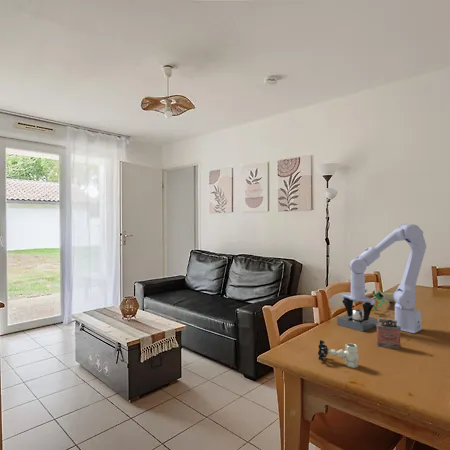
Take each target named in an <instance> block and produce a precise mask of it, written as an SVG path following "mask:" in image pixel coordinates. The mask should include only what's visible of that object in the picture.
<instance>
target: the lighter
mask: <svg viewBox="0 0 450 450" xmlns="http://www.w3.org/2000/svg"><path fill="white" fill-rule="evenodd" d="M377 319H378V324H376V341H375V342H376V346H377V347H381V348H386V349H387V348H388V349H401V348H402V345H401V330H400V329H401V327H400V326H397V320H395V319H392V318H391V317H390V318H377Z"/></svg>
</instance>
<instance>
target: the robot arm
mask: <svg viewBox="0 0 450 450" xmlns="http://www.w3.org/2000/svg"><path fill="white" fill-rule="evenodd" d="M400 241H406V243H407V244H408V245H409V247H410V251H409V255H408V258H407V261H406V266H405V267H404V272H403V275H402V277H401V278H402V279H401V282H400V284H398V286H397V288H396V290H395V291H394V292H393V299H394V300H395V301H394V302H395V303H394V320H397V326H400V327H401V329H400V331H401V332H403V331H404V332H406V333H410V334H416V333H418V332H420V331H422V330H423V328H422V327H423V326H422V324H423V323H422V312H421V310H419V309H416V308H415V306H416V305H417V299H416V296H417V291H416V285H417V281H418V277H419V273H420V270H421V267H422V264H423V260H424V256H425V253H426V249H427V244H426V241H425V238H424V231H423V230H422V229H421V228H420V226H419V225H417V224H413V223H412V224H408V223H403V224H401V225H400V226H399V227H397V228H395V229H393V230H392V231H391V232H390V233H388V235H386V236H385V238H383V239H382V240H381V241H380V242H378V244H376V245H375V246H370V247H369V246H368V247H365V248H364V251H363V252H362V253H360V254H359V255H356V256H355V258H353V259H351V261H350V262H349V264H348V267H349V269H350V294H349V293H348V294H347V293H341V299H342V304H343V306H344V307H345V310H346V313H347V314H348V316H349V317H350V316H352V309H353V305H354V302H353V301H358V302H357V303H363V304H362V310H363V316H364V320H365V321H366V320H368V319H369V317H370V316H371V313H372V309H374V307H373V306H375V305H376V299H374V298H371V297H369V298H367V297H366V293H365V290H366V288H365V287H366V283H365V282H366V281H365V280H366V277H365V272H366V270H367V267H369V266H371V265H372V264H373V263H374V262H375V261H377V260H378V259H379V258H380V256H381V253H382V252H383V251H385V250H386V249H387V248H389V247H390V246H392V245H393V244H394V243H396V242H400ZM347 314H346V315H347Z"/></svg>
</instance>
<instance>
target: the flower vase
mask: <svg viewBox="0 0 450 450" xmlns="http://www.w3.org/2000/svg"><path fill="white" fill-rule="evenodd" d="M366 292H368V289H365V294H366ZM393 294H394V292H393V293H391V292H390V293H389V292H388V293H387V292H386V293H385V292H383V291H381V290H380V289H379V290H377V291H375V290H373V291H372V296H368V295H365V297H367V298H371V299H375V301H377V302H378V303H377V305H378V307H379V308H381V307H382V304H385V305H387V304H386V301H387V302H390V303H393V302H395V300H394V299H393ZM354 303H356V304H357V303H359V302H358V301H353V304H354ZM377 305H374V306H373V309H374V310H375V311H378V308H377Z"/></svg>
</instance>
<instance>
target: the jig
mask: <svg viewBox="0 0 450 450" xmlns="http://www.w3.org/2000/svg"><path fill="white" fill-rule="evenodd" d="M378 319H379V318H375V317H371V316H369V319H368V320H366V321H365V320H364V315H363V322H357V321H353V320H352V316H350V317H349V316H348V314H345V315H342V316H339V317H337V318H336V325H338V326H340V325H341V327H344V328H348V329H352V330H355V331H359V332H361V333H362V332H363V333H364V332H366V331H368V330H370V329H373V328H375V327H376V324H379V322H378ZM376 328H377V327H376Z"/></svg>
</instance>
